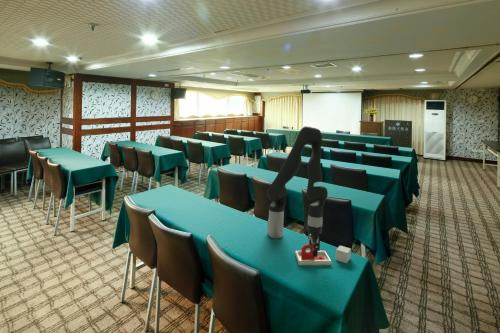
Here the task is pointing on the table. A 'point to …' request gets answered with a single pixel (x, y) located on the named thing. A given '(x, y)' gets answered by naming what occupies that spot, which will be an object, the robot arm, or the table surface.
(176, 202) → the table surface
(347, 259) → the white cube
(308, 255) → the bracket
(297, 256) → the holder tray
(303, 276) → the table surface
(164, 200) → the table surface
